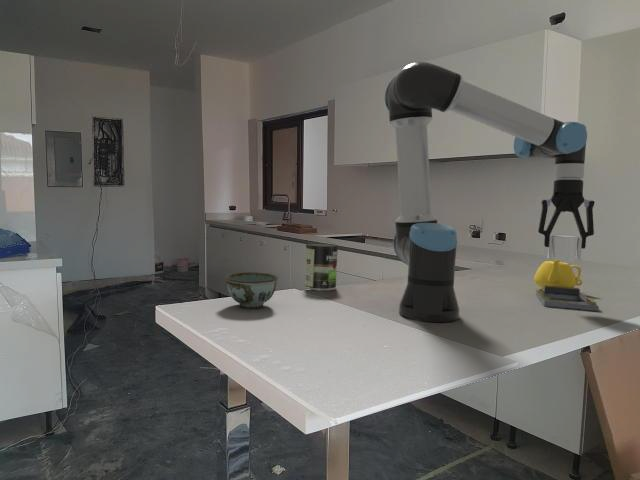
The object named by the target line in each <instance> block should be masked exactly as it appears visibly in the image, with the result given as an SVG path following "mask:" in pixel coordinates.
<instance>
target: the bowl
mask: <svg viewBox="0 0 640 480" xmlns="http://www.w3.org/2000/svg"><path fill="white" fill-rule="evenodd" d="M278 279H279V276H277V275H275V274H271V273H266V272H255V271H250V272H249V271H248V272H234V273H233V272H232V273H229V274H227V275H226V276H225V280H226V285H227V291H228V293H229V296H230V297H231V299H233V300H234V302H236V303H238V305H239V307H241V308H242V309H249V310H250V309H251V310H256V309H261V308H263V307H264V303H267V302H269V300H270V299H271V298H272V297H273V295H274V294H275V291H276V288H277V287H276V286H277V282H278Z"/></svg>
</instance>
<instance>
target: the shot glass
mask: <svg viewBox="0 0 640 480" xmlns="http://www.w3.org/2000/svg"><path fill="white" fill-rule="evenodd" d="M551 236H552V237H553V241H552V258H553V259H552V261H553V260H558V261H560V262H575V260H576V250H577V243H578V237H579V236H576V235H572V234H571V235H568V234H567V235H566V234H554V235H551Z"/></svg>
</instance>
